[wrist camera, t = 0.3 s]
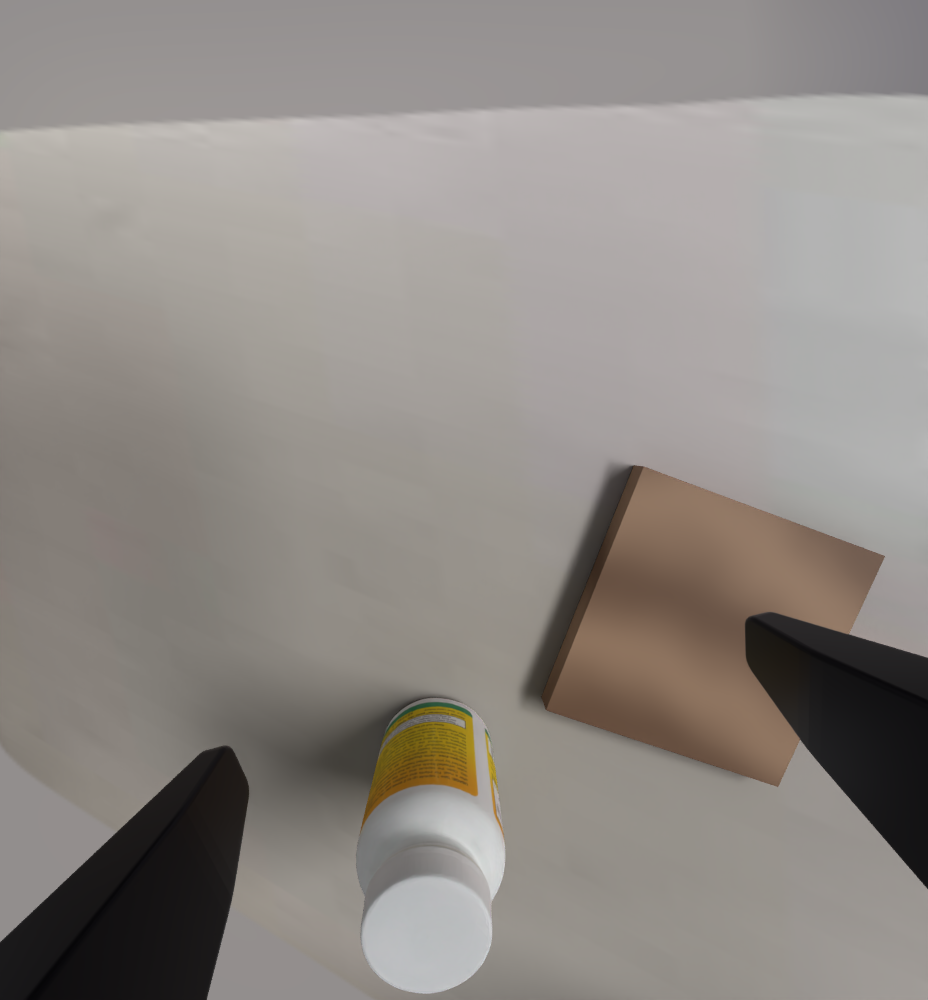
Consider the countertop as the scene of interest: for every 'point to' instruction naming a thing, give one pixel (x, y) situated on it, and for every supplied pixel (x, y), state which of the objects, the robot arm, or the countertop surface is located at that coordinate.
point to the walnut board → (697, 622)
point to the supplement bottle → (431, 848)
